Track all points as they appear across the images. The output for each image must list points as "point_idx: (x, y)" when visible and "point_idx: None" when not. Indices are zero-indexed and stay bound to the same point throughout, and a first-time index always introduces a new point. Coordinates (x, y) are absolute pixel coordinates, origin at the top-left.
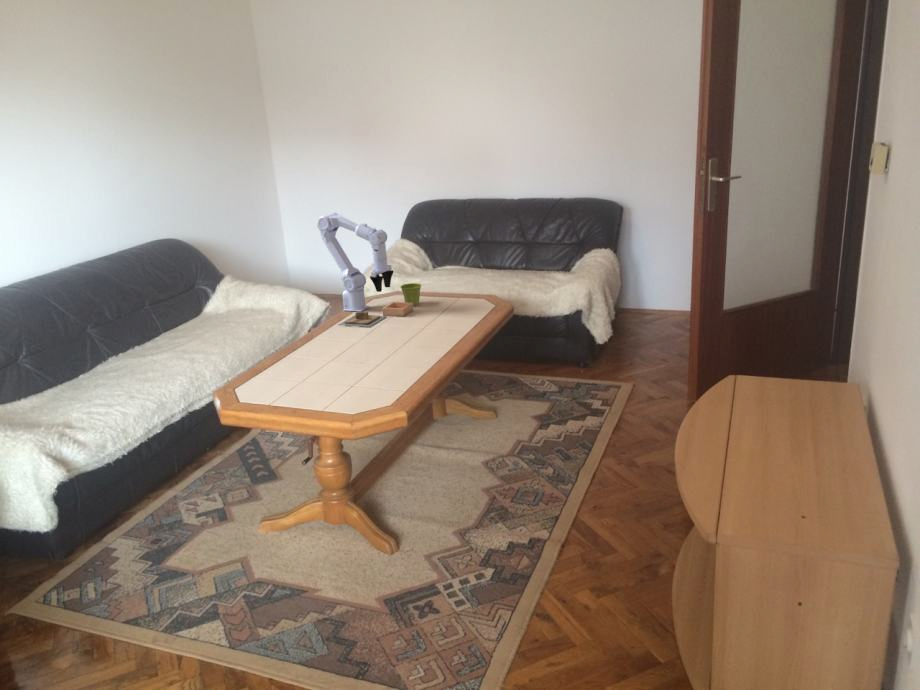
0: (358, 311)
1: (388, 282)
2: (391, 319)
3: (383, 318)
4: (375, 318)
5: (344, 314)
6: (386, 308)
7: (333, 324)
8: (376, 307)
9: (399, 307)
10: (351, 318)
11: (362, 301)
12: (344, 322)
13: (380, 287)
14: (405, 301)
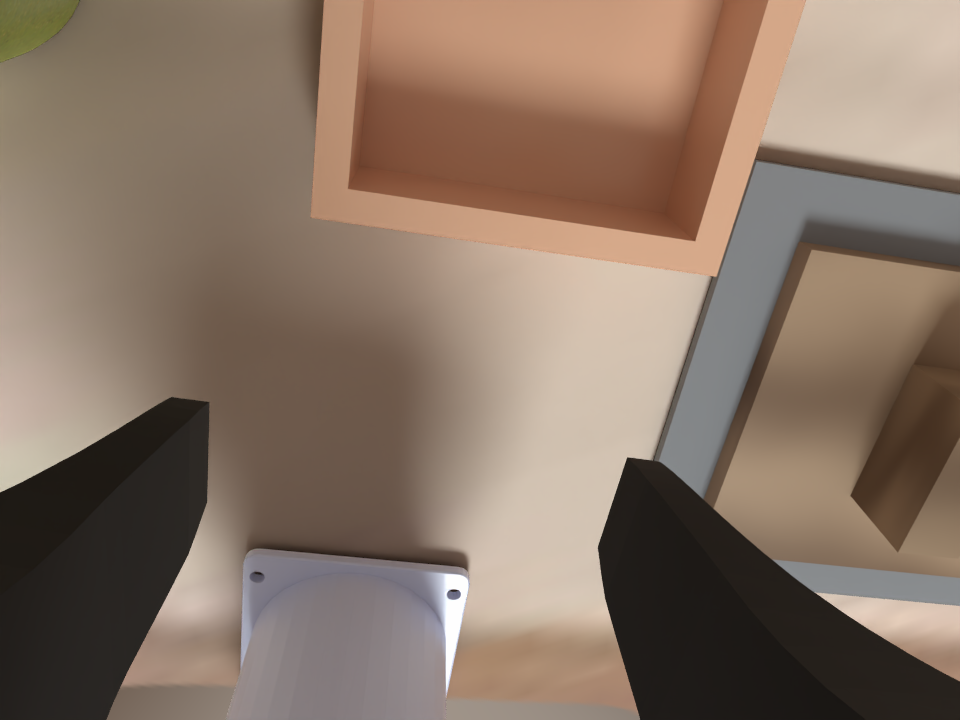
0: (904, 542)
1: (152, 493)
2: (890, 31)
3: (847, 175)
4: (942, 268)
5: (563, 682)
6: (740, 195)
7: (918, 654)
8: (253, 463)
9: (368, 59)
10: (862, 557)
11: (380, 656)
12: (920, 581)
13: (728, 526)
14: (38, 32)
